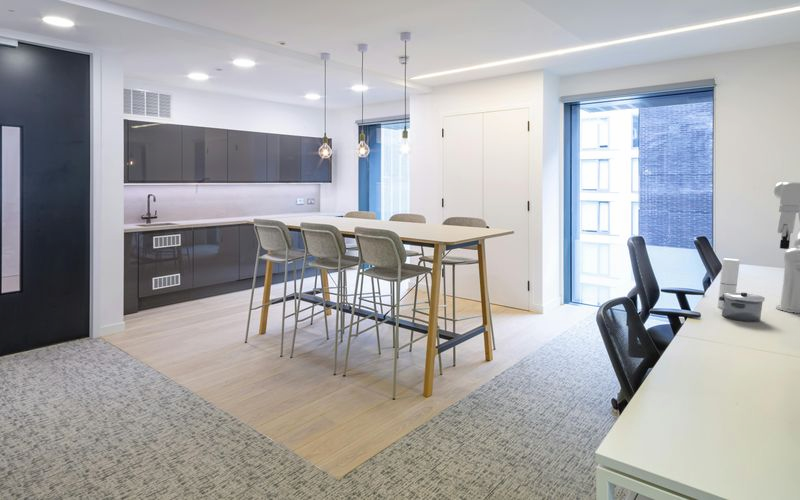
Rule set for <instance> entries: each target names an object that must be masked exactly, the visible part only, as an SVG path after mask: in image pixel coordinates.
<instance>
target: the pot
mask: <svg viewBox="0 0 800 500" xmlns="http://www.w3.org/2000/svg"><path fill="white" fill-rule="evenodd" d="M718 297H719V296H718ZM719 300H721V301H723V308H721V316H722V317H724V318H726V319H729V320H732V321H737V322H745V323H759V322H761V317H762V316H761V315H762V309H763V302H745V301H737V300H731V299H727V298H725V297H724V296H723V295H722V296H720V297H719Z"/></svg>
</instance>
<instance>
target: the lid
mask: <svg viewBox="0 0 800 500" xmlns="http://www.w3.org/2000/svg"><path fill="white" fill-rule="evenodd" d="M723 296H724V297H725V298H727V299H731V300H737V301H745V302H762V303H763V302H765V297H764V296H761V295H759V294H754V293H752V294H751V293H748V292H736V293H725V294H723Z"/></svg>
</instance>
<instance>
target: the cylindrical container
mask: <svg viewBox="0 0 800 500" xmlns="http://www.w3.org/2000/svg"><path fill="white" fill-rule="evenodd" d="M721 262H722V264H721V271H720V272H721V273H720V282H719V290H718V299H717V306H718V307H717V308H719V307H720V308H719V309H723V301H721V300H719V297H720V296H722V295H723V294H725V293H737V289H738V288H737V285H738V280H739V279H738V278H739V277H738V276H739V271H740V263H741V260H740V259H738V258H726V257H724V258H722V261H721Z"/></svg>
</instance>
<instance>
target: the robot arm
mask: <svg viewBox="0 0 800 500" xmlns="http://www.w3.org/2000/svg"><path fill="white" fill-rule="evenodd" d="M773 191H774V192H773V193H774V196H775V198H777V199H779V208H778V212H779V213H780V215H779V221H778V228H777V233H778V234H781V237H780V242H779V244H780V245H779V249H784V250H785V252H784V254H783V260H784V262H783V263H784V274H783V281H782V289H781V297H780V303H779V304H778V305H776V306H775V308H776V309H777V310H779V311H782V310H783V312H788V313H793V312H794V314H795V313H796V314H800V229H799V231H798V232H797V235H796V237H795V240H794V243H793V248H790V242H791V234H794V233H793V232H794V230H795V225H796V217H797V215H798V221H799V222H798V223H799V224H800V182H797V181H796V182H795V181H793V182H792V181H791V182H790V181H789V182H788V181H787V182H781V181H780V182H778V183H776V185H775V187H774V190H773Z"/></svg>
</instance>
